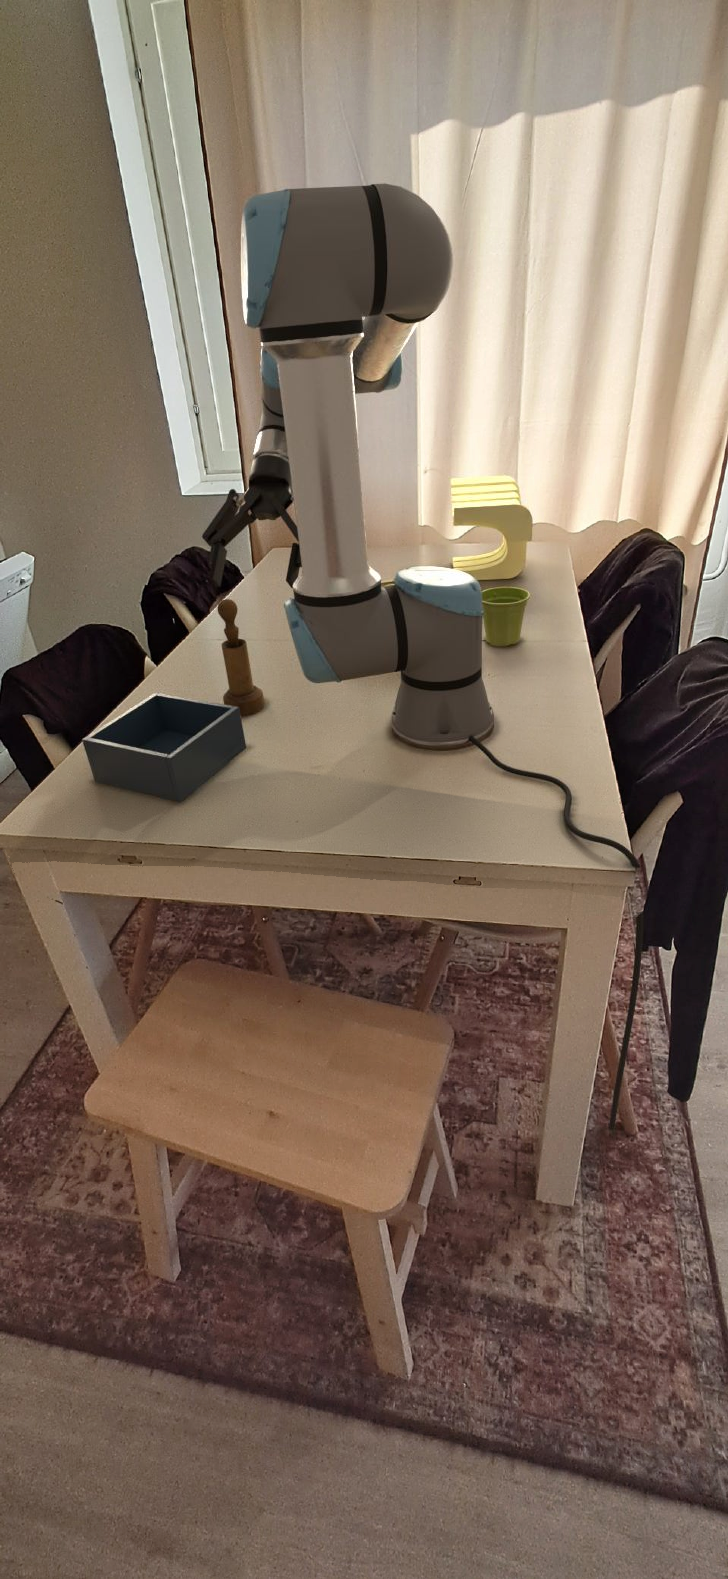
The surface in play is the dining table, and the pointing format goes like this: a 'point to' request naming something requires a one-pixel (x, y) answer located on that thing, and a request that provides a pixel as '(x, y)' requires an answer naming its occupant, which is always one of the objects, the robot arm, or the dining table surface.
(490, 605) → the plant pot
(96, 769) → the tub
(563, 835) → the dining table surface
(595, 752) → the dining table surface
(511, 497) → the slatted curved stool
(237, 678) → the mortar and pestle
